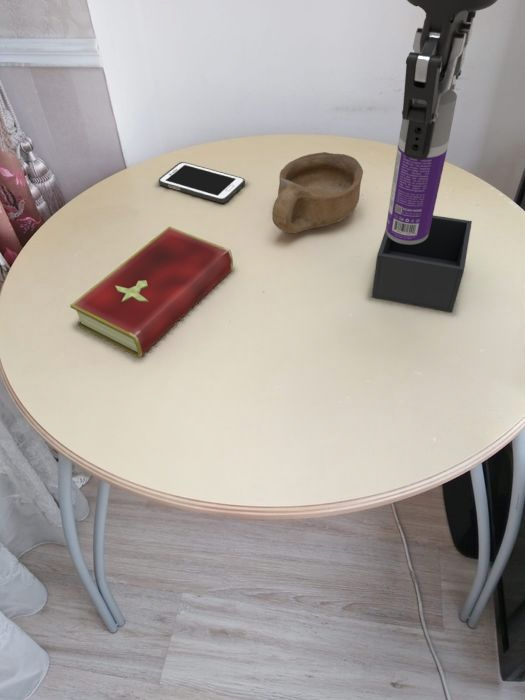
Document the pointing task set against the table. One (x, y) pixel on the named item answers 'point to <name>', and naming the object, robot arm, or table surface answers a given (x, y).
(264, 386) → the table surface
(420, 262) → the bin
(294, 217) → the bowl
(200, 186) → the cell phone
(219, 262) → the hardcover book
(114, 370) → the table surface
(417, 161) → the container
